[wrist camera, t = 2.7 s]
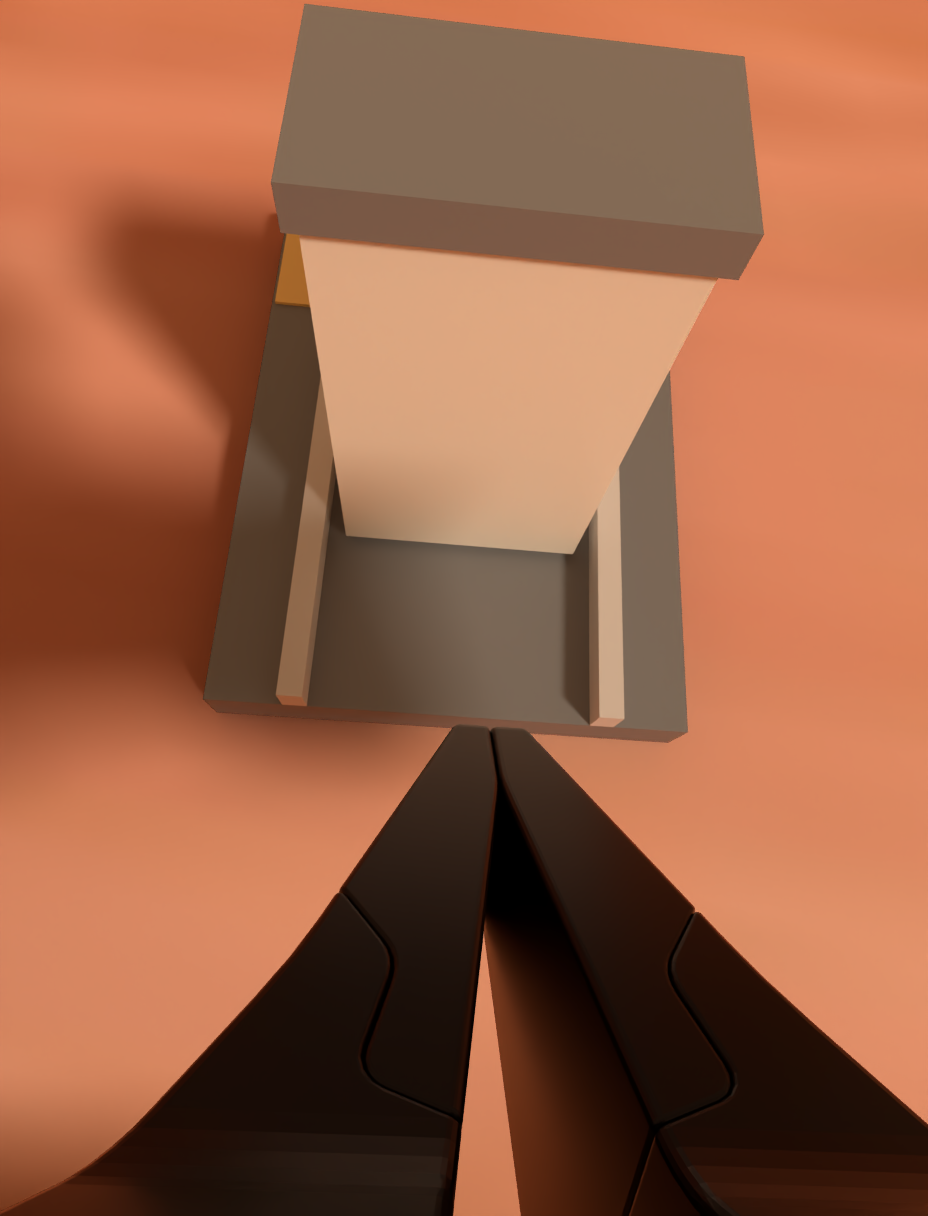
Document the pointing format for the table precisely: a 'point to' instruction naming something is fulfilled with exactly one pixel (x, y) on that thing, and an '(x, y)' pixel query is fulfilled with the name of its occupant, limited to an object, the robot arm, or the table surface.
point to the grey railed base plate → (439, 588)
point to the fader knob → (502, 258)
